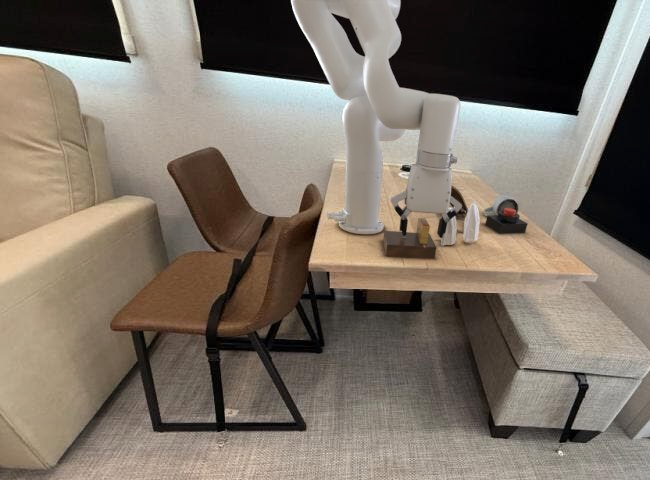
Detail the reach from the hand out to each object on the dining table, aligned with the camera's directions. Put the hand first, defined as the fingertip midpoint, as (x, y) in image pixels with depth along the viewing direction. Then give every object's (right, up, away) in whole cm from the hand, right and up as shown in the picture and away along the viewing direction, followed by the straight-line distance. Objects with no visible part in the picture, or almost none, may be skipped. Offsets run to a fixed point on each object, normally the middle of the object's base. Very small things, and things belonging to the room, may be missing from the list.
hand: (421, 234), depth 81 cm
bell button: (+29, +11, +22) cm, 38 cm away
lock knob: (0, -1, +1) cm, 1 cm away
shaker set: (+11, 0, +10) cm, 15 cm away
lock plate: (-2, -3, +2) cm, 5 cm away
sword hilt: (+10, +7, +22) cm, 25 cm away
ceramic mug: (+30, +13, +35) cm, 48 cm away
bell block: (+29, +7, +25) cm, 38 cm away
